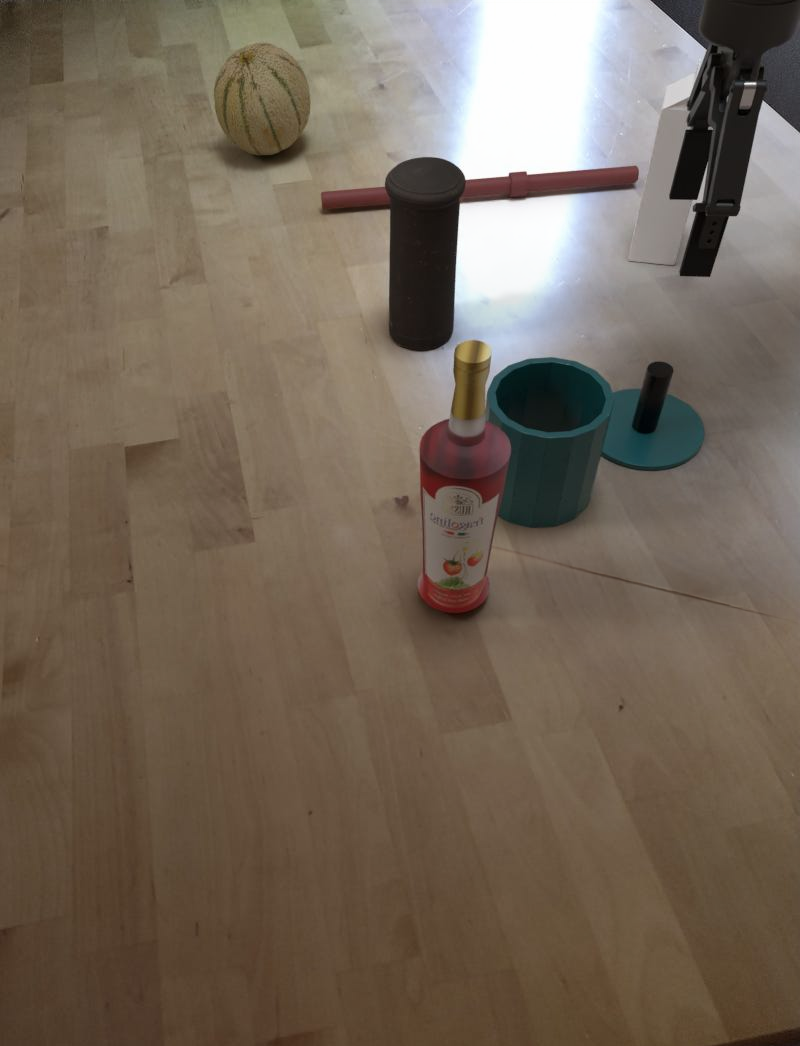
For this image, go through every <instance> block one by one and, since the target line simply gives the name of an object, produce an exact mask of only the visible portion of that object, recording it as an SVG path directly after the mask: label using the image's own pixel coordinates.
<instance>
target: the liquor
mask: <svg viewBox="0 0 800 1046" xmlns="http://www.w3.org/2000/svg"><path fill="white" fill-rule="evenodd" d="M491 362H492V348H491V346H490V345H489V344H487V343H486V342H484V341H482V340H477V339H470V340H465V341H462V342H460V343H459V344H457V345H456V346H455V348H454V356H453V368H452V369H453V377H454V391H453V397H452V402H451V409H450V413H449V418H447V419H443V420H441V421H439V422H436V423H435V424H433V425H432V426H430V427H429V428H428V429H427V430H425V432H424V433H423V435H422V436H421V438H420V441H419V476H420V477H419V485H420V486H419V489H420V491H419V494H420V507H421V509H420V511H421V527H422V528H421V530H422V532H421V533H422V570H421V572H420V574H419V576H418V580H417V589H418V592H419V594H420V595H419V596H420V597H421V598H422V599H423V601H424V602H425V603H426V604H428V605H429V606H430V607H432V608H434V609H435V610H438V611H441V612H444V613H450V614H460V613H465V612H470V611H471V610H473V609H476V608H477V607H479V606H480V605H482V604H483V603H484V601H486V599H487V597H488V596H489V592H490V588H491V587H490V586H491V584H490V579H489V577H488V570H489V563H490V559H491V552H492V547H493V542H494V536H495V532H496V526H497V522H498V517H499V516H498V513H499V509H500V505H501V500H502V496H503V490H504V485H505V480H506V474H507V469H508V464H509V459H510V454H511V444H510V441H509V438H508V437H507V435H506V434H505V433H504V432H503V431H502V430H501V429H500V428H499V427H497V426H496V425H495V424H493V423H490V422H488V421H486V420H485V409H486V385H487V382H488V378H489V375H490V372H491Z"/></svg>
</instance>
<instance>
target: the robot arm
mask: <svg viewBox="0 0 800 1046" xmlns="http://www.w3.org/2000/svg"><path fill="white" fill-rule="evenodd" d="M799 23H800V0H704V1H703V6H702V10H701V13H700V18H699V21H698V32H699V34H700V36H701V37H702V38H703V39H704V40H705V41H706V42H708V46H707V48H706V51H705V54H704V56H703V59H702V62H701V65H700V66H699V71H698V75H697V78H696V81H695V84H694V86H693V89H692V92H691V94H690V97H689V100H688V101H687V111H690V113H689V114H688V117H687V121H686V122H687V127H691V128H690V130H686V131H685V135H684V139H683V143H682V147H681V151H680V155H679V158H678V162H677V166H676V170H675V174H674V178H673V182H672V186H671V190H670V194H669V199H670V200H692V201H698V198H699V195H700V192H701V189H702V185H703V181H705V182H704V187H703V197H702V201H701V202H695V203H694V204H693V205H692V213H695V214H694V217H693V220H692V225H691V229H690V231H689V235H688V238H687V242H686V247H685V250H684V253H683V257H682V260H681V264H680V268H679V270H678V271H679V272H678V273H679V277H690V278H691V277H695V278H711V276H712V273H713V269H714V266H715V263H716V260H717V256H718V253H719V250H720V247H721V243H722V241H723V238H724V234H725V231H726V227H727V225H728V222H729V219H730V217H737V216H738V215H739V213H740V211H741V203H742V199H743V194H744V188H745V183H746V179H747V174H748V169H749V165H750V159H751V155H752V151H753V145H754V140H755V136H756V130H757V126H758V120H759V115H760V112H761V108H762V105H763V101H764V98H765V94H766V92H767V91H768V80H767V79H764V75H765V65H761V63H762V57H763V55H764V54H765V53H766V52H768V51H769V50H771V49H773V48H779V47H781V46H783V45H785V44H786V43H788V42H789V41H790V40H791V39H792V38H793V37H794V35H795V34H796V32H797V28H798V25H799ZM708 127H712V130H708ZM705 174H706V175H705ZM704 177H705V180H704Z"/></svg>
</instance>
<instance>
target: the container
mask: <svg viewBox="0 0 800 1046" xmlns="http://www.w3.org/2000/svg"><path fill="white" fill-rule="evenodd" d="M465 180H466V176H465V174H464V172H463V170H462V169H461V168H459V166H457V165H456V164H455V163H453V162H452V161H449V160H448V159H445V158H441V157H435V156H433V157H432V156H422V157H421V156H420V157H415V158H414V157H413V158H410V159H406V160H404V161H402V162H400V163H397V164H396V165H395V166H394V167H392V169H391V170H390V171H388V173H387V174H386V176H385V181H384V187H385V189H386V192H387V194H388V196H389V197H390V204H389V257H388V258H389V265H388V266H389V270H388V271H389V276H388V278H389V279H388V280H389V281H388V283H389V284H388V333H389V336H390V338H391V339H392V341H393V342H394V343H396V345H398V346H400V347H403V348H406V349H408V350H413V351H425V350H432V349H436V348H439V347H440V346H442V345H443V344H445V343H446V342H448V340H449V339H450V338H451V337H452V335H453V332H454V325H455V323H454V321H455V301H456V300H455V299H456V297H455V296H456V277H457V276H456V275H457V255H458V240H459V239H458V238H459V223H460V209H461V198H460V197H461V196H462V194H463V192H464V190H465V184H466V181H465Z"/></svg>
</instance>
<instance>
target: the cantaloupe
mask: <svg viewBox="0 0 800 1046" xmlns="http://www.w3.org/2000/svg"><path fill="white" fill-rule="evenodd" d="M308 82H309V81H308V79H307V77H306V74H305V71H304V69H303V67H302V66H301V65H300V63H299V61H298V60H296V58H295V57H294V56H293V55H291V54H290V53H289V52H288V51H287V50H285V49H283V48H282V47H279V46H276V45H274V44H272V43H269V42H255V43H251V44H247V45H243V46H242V47H240V48H239V49H237V50H235V51H234V52H232V53H231V54H230V56H229V57H228V58H227V59H226V60H225V62H223V64H222V66H220V68H219V71H218V73H217V75H216V78H215V81H214V86H213V87H214V88H213V100H214V111H215V115H216V118H217V122H218V124H219V126H220V128H221V130H222V132H223V134H224V136H225V137H226V138H227V139H228V140H229V141H230V142H231V143H232V144H233V145H234V146H235V147H237V148H239V149H241V150H242V151H244V152H245V153H248V154H250V155H254V156H272V155H276V154H278V153H280V152H282V151H285V150H287V149H288V148H289V147H291V146H292V145H293V144H294V143H295V141H296V140H298V139H299V138H300V137H301V135H302V133H303V132H304V130H305V128H306V127H307V125H308V123H309V122H308V121H309V118H310V114H311V101H312V100H311V93H310V86H309V83H308Z"/></svg>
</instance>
